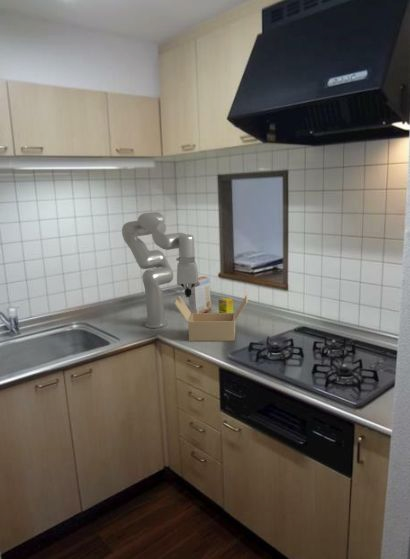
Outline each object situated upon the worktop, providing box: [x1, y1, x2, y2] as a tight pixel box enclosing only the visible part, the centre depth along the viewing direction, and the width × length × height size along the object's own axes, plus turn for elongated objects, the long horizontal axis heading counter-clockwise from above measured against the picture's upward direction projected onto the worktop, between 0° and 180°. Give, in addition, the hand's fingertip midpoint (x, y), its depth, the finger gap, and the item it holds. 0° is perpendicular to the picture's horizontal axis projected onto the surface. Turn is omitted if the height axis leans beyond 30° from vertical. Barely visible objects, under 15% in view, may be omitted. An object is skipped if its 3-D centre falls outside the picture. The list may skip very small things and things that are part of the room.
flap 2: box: [234, 294, 248, 322], centre depth 208 cm, size 11×14×1 cm
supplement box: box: [218, 297, 234, 313], centre depth 242 cm, size 6×6×11 cm
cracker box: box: [187, 276, 212, 316], centre depth 252 cm, size 14×6×21 cm, turn 141°
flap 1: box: [173, 295, 191, 322], centre depth 212 cm, size 11×14×1 cm
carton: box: [187, 312, 236, 343], centre depth 212 cm, size 22×14×10 cm, turn 84°
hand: (188, 296), depth 210 cm, fingers closed
